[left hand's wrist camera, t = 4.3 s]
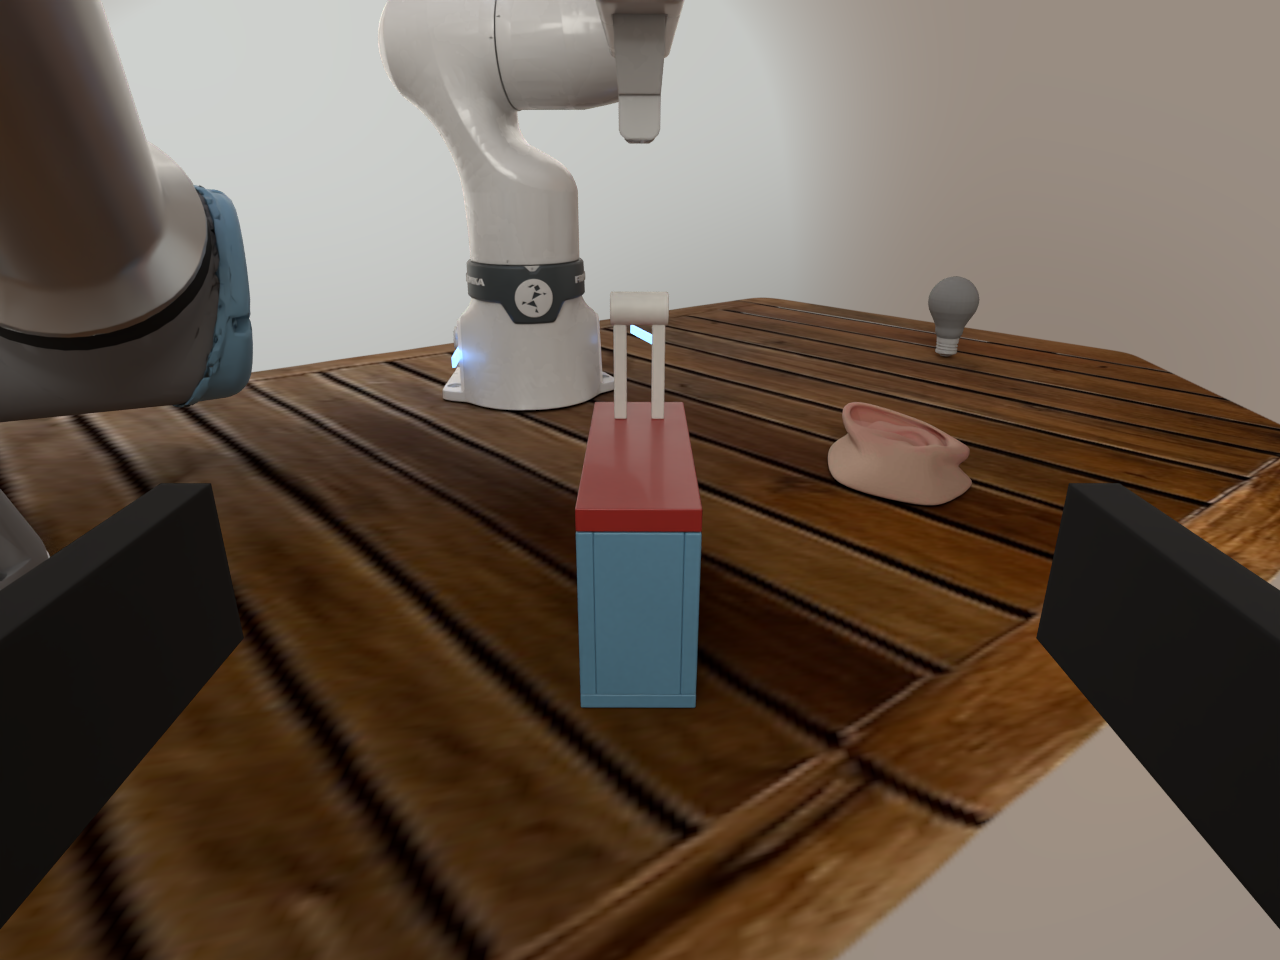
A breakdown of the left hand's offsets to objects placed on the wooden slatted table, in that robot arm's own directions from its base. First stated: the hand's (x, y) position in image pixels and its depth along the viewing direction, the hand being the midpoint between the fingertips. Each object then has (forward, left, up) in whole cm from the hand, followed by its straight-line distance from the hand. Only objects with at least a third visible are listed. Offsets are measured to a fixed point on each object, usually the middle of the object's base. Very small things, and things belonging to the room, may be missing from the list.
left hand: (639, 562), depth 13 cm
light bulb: (-40, +91, -18) cm, 101 cm away
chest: (-20, +19, -18) cm, 33 cm away
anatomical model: (-22, +49, -18) cm, 57 cm away
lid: (-20, +19, -9) cm, 29 cm away
